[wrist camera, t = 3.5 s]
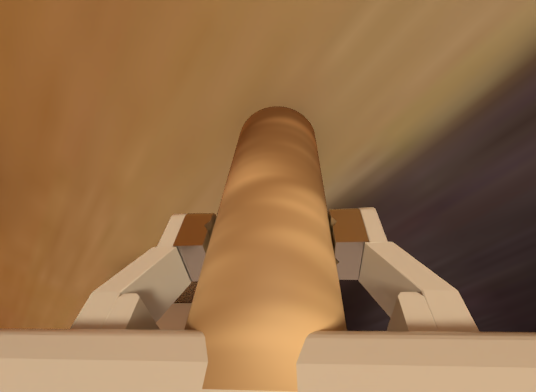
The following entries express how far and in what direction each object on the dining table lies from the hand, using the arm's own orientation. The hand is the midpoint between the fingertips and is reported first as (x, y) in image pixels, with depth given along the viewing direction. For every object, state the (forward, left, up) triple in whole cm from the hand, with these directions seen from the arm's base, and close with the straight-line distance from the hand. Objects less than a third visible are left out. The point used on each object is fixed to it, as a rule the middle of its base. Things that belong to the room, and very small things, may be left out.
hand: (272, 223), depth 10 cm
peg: (0, 0, -6) cm, 6 cm away
